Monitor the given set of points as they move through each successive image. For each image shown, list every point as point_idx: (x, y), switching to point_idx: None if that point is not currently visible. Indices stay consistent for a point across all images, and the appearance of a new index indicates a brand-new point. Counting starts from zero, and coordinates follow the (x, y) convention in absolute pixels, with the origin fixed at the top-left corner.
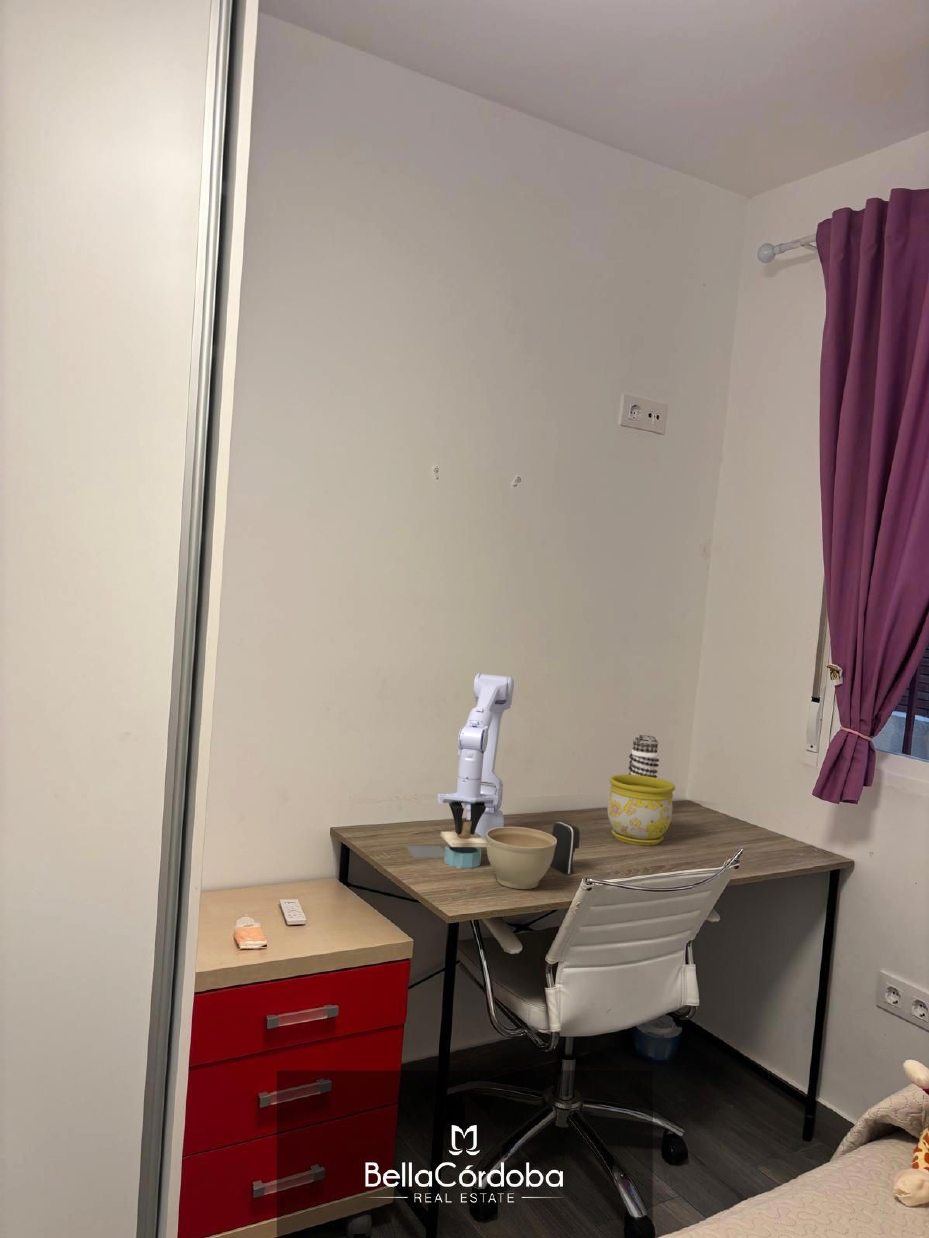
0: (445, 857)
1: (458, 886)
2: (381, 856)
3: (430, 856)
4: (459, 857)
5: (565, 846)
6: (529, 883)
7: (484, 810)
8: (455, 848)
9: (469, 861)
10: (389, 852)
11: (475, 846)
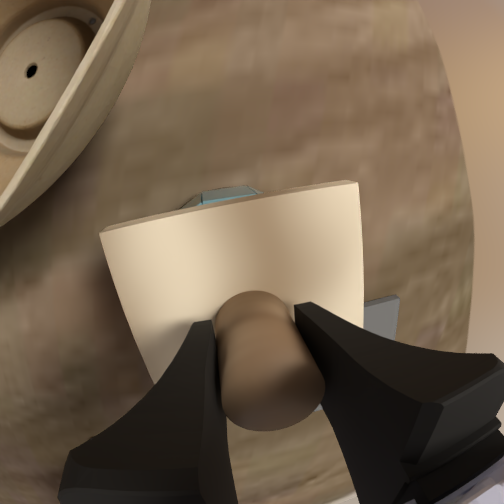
0: None
1: (290, 3)
2: (458, 299)
3: None
4: None
5: None
6: (22, 7)
7: (77, 452)
8: None
9: (217, 192)
10: (430, 339)
11: (190, 208)
